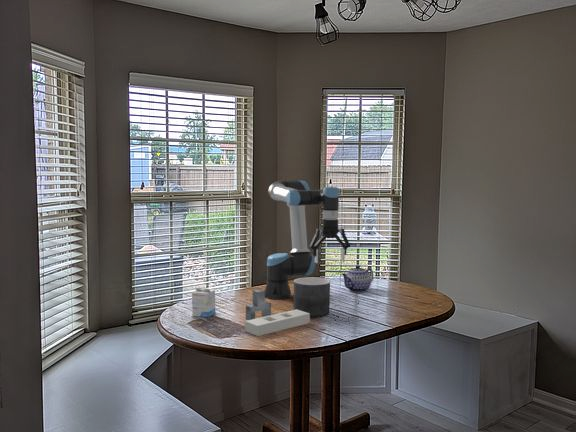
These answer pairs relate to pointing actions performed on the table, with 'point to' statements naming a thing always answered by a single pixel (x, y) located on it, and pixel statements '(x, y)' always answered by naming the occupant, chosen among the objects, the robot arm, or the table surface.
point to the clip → (258, 305)
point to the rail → (277, 322)
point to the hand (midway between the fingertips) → (329, 262)
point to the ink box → (203, 302)
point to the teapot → (358, 279)
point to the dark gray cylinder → (312, 296)
